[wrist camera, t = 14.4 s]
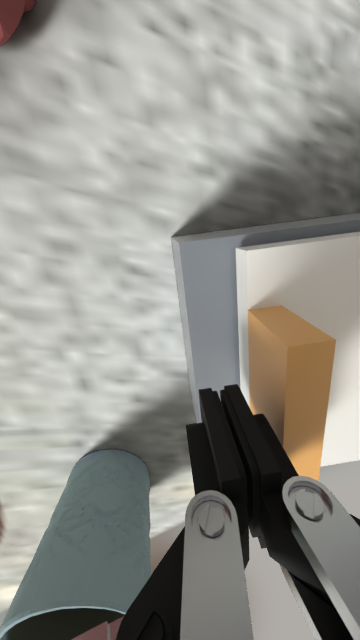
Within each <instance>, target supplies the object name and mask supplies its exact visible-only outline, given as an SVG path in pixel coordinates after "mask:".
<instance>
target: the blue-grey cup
mask: <svg viewBox="0 0 360 640" xmlns="http://www.w3.org/2000/svg"><path fill="white" fill-rule="evenodd" d="M149 493H150V476H149V472H148V469H147V466H146V465H145V463H144V462H143V461H142V460H141V459H140V458H139V457H137V456H135V455H134V454H132V453H130V452H126V451H123V450H117V449H105V450H98V451H95V452H92V453H90V454H87V455H86V456H84V457H83V458H81V459H80V460H79V461H78V462H77V463H76V465H75V466H74V468H73V470H72V472H71V474H70V476H69V478H68V481H67V484H66V487H65V489H64V491H63V493H62V496H61V498H60V500H59V502H58V504H57V506H56V508H55V511H54V513H53V515H52V517H51V520H50V524H49V526H48V528H47V529H46V531H45V533H44V535H43V537H42V539H41V541H40V544H39V546H38V548H37V550H36V553H35V555H34V557H33V560H32V562H31V564H30V566H29V568H28V570H27V572H26V574H25V576H24V578H23V580H22V582H21V584H20V586H19V588H18V590H17V592H16V595H15V597H14V599H13V601H12V603H11V605H10V608H9V610H8V612H7V615H6V616H5V618H4V621H3V623H2V625H1V627H0V640H71V639H73V638H75V637H77V636H79V635H81V634H83V633H85V632H87V631H89V630H90V629H92V628H94V627H96V626H98V625H100V624H102V623H104V622H106V621H107V622H108V624H110V623H112V622H114V621H115V620H117V619H119V618H121V617H123V616H125V614H126V612H127V610H128V609H129V607H130V606H131V604H132V603H133V601H134V600H135V598H136V597H137V595H138V594H139V592H140V591H141V590H142V588H143V587H144V585H145V584H146V582H147V581H148V579H149V578H150V576H151V565H150V537H149V532H150V512H149Z"/></svg>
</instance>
